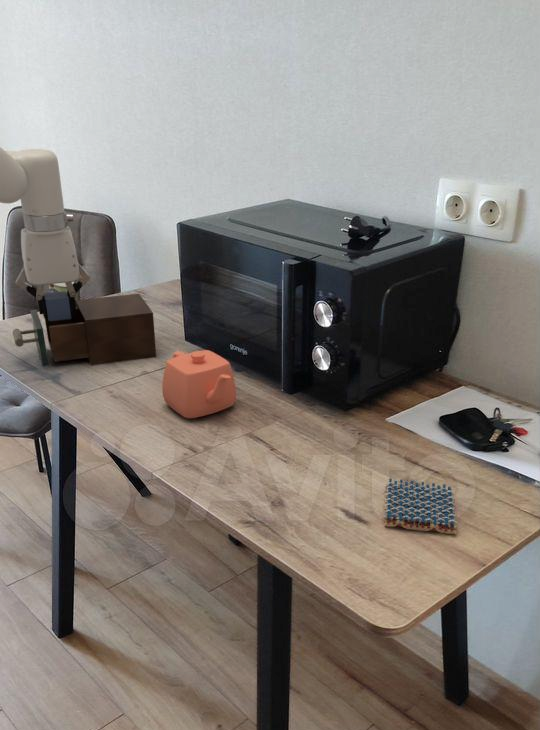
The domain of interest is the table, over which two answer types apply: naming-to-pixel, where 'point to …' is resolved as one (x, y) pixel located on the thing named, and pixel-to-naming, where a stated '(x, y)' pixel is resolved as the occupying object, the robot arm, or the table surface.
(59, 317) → the block
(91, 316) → the cabinet
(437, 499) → the woven mat
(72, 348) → the drawer
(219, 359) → the teapot
